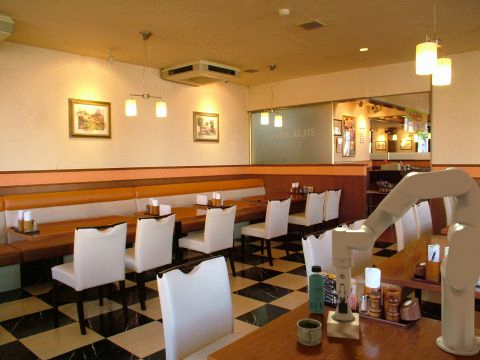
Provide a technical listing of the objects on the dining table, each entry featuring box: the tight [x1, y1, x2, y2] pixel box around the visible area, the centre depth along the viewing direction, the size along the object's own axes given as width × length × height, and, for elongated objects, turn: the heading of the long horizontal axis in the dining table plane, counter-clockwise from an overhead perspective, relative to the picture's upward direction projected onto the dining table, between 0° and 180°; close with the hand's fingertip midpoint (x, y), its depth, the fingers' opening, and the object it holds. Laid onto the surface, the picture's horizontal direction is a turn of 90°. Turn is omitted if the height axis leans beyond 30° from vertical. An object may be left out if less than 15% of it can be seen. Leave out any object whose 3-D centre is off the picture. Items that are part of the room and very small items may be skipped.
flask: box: [334, 292, 354, 321], centre depth 146 cm, size 7×7×10 cm
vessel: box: [296, 318, 323, 347], centre depth 139 cm, size 12×9×6 cm
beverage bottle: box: [308, 264, 326, 314], centre depth 162 cm, size 6×7×20 cm
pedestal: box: [326, 310, 360, 340], centre depth 146 cm, size 11×11×5 cm
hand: (343, 309), depth 146 cm, fingers open, 6 cm apart
